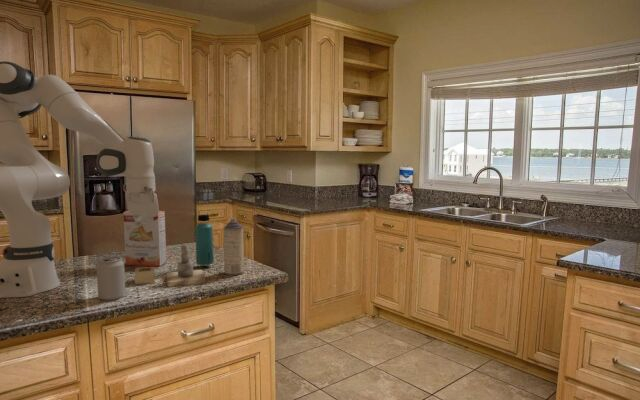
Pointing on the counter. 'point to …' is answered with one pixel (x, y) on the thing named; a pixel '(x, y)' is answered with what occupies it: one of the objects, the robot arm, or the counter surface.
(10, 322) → the counter surface
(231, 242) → the aerosol can
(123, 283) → the can
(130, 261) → the cracker box
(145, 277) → the collar
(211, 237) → the beverage bottle
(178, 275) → the shaft stand
